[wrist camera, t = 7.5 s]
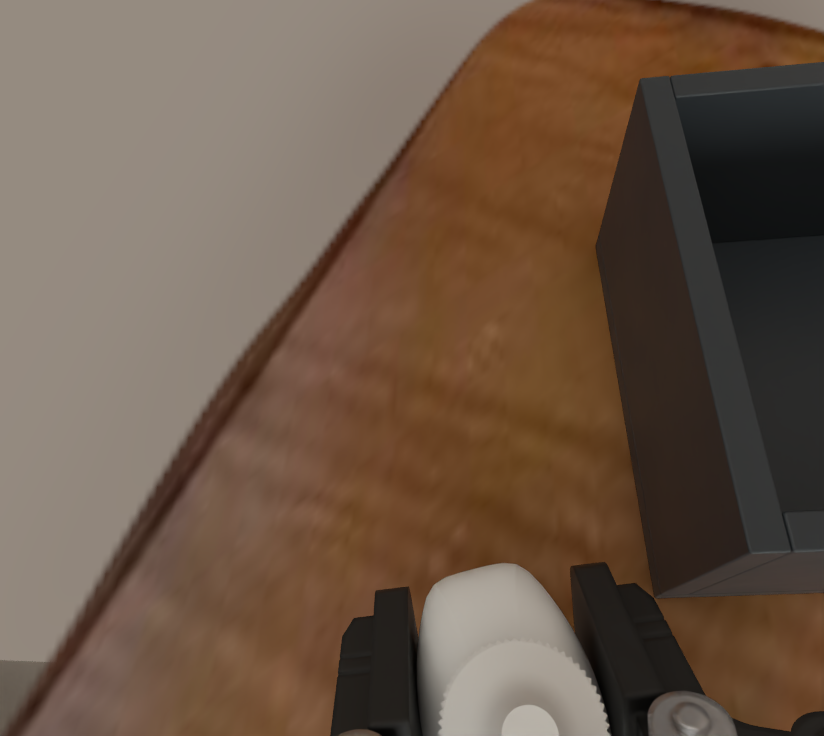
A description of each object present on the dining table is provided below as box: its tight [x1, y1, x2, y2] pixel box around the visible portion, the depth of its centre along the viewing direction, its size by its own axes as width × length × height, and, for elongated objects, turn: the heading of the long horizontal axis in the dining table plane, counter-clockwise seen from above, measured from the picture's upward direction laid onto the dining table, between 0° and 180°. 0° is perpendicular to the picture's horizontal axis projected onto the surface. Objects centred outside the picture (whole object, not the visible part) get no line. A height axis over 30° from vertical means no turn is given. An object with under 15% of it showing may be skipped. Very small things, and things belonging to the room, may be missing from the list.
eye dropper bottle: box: [417, 563, 612, 736], centre depth 14 cm, size 4×6×12 cm
